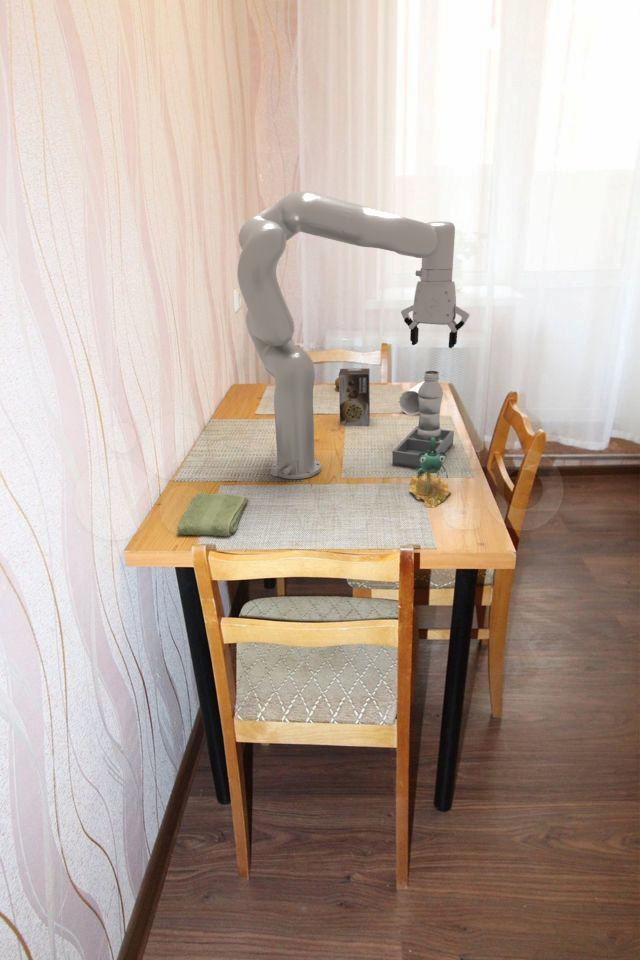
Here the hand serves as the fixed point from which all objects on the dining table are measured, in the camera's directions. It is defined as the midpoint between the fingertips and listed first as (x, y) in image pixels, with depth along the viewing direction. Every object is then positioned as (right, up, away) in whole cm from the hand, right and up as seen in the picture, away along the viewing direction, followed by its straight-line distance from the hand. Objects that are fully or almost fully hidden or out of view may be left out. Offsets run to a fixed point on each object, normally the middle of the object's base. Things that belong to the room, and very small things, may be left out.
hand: (432, 345), depth 165 cm
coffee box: (-18, -17, +32) cm, 41 cm away
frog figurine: (-3, -37, -12) cm, 39 cm away
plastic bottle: (+1, -25, +11) cm, 27 cm away
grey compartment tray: (-1, -28, +8) cm, 29 cm away
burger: (-19, -3, +64) cm, 67 cm away
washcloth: (-52, -43, -22) cm, 71 cm away
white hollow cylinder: (+3, -11, +44) cm, 46 cm away
